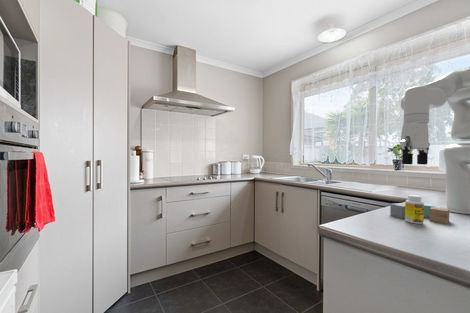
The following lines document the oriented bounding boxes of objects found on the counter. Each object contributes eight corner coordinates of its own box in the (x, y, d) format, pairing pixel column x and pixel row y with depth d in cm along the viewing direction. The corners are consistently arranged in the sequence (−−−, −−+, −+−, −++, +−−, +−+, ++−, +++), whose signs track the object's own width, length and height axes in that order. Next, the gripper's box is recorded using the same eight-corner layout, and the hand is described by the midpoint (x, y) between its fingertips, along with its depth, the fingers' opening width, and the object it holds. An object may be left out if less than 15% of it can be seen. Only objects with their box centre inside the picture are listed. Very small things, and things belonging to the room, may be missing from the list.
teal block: (418, 214, 97) (418, 202, 96) (433, 216, 94) (433, 204, 94) (419, 216, 92) (419, 204, 92) (435, 218, 90) (435, 206, 89)
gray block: (399, 214, 95) (399, 203, 95) (411, 217, 90) (411, 205, 90) (390, 215, 94) (390, 203, 94) (401, 218, 89) (401, 206, 89)
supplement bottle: (414, 224, 81) (415, 197, 81) (401, 220, 87) (401, 194, 87) (427, 224, 82) (428, 197, 82) (413, 219, 87) (414, 194, 87)
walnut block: (432, 218, 89) (432, 206, 89) (449, 221, 86) (449, 209, 86) (429, 221, 86) (429, 208, 86) (446, 224, 82) (447, 211, 82)
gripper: (417, 122, 91) (416, 164, 91) (391, 119, 84) (390, 163, 84) (440, 120, 84) (439, 164, 84) (413, 116, 77) (412, 164, 77)
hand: (414, 164), depth 84 cm, fingers open, 9 cm apart
